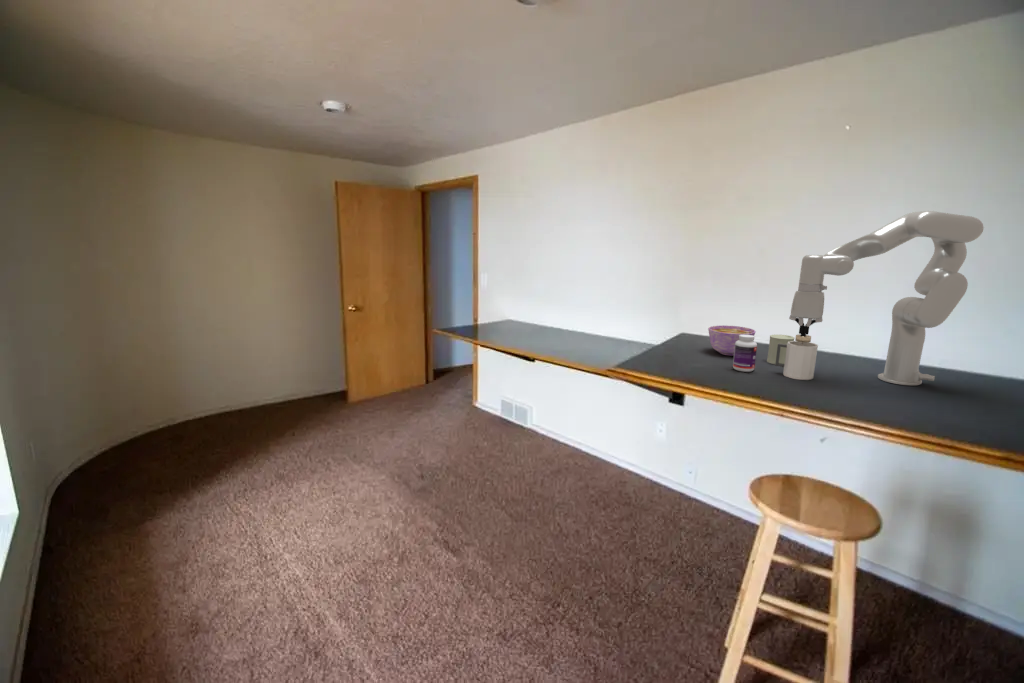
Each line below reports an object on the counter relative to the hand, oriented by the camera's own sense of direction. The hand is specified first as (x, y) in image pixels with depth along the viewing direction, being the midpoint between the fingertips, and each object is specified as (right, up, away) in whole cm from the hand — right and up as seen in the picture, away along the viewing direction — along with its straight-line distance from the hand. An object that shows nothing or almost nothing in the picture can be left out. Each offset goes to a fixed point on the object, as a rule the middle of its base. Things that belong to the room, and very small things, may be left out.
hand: (803, 335), depth 172 cm
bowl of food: (-10, -8, +39) cm, 41 cm away
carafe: (-1, -16, +5) cm, 16 cm away
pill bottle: (-17, -14, +13) cm, 25 cm away
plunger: (0, -14, +3) cm, 14 cm away
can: (+4, -12, +23) cm, 26 cm away
